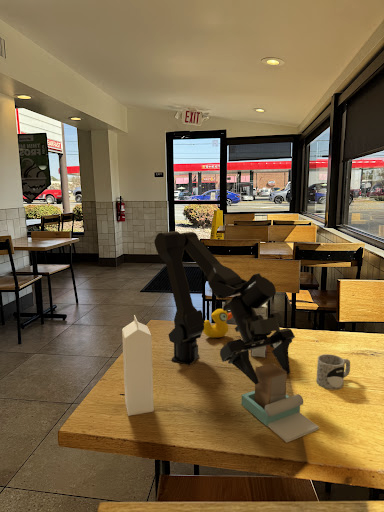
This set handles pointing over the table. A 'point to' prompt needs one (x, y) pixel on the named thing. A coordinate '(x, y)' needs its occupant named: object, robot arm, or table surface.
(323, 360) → the mug
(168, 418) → the table surface
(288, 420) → the teal rectangular frame
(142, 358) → the milk
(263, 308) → the candy bar box
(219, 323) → the duckling
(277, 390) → the brown block
